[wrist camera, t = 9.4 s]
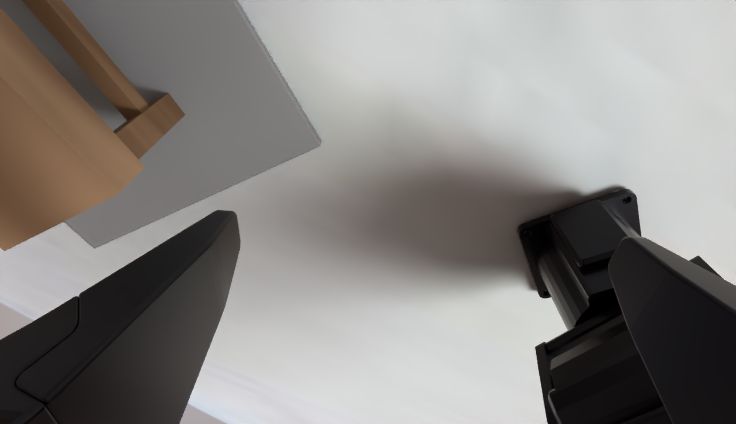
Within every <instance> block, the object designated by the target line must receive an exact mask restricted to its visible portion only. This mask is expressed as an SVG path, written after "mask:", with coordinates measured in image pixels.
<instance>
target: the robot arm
mask: <svg viewBox="0 0 736 424" xmlns="http://www.w3.org/2000/svg"><path fill="white" fill-rule="evenodd" d="M625 197H627V198H626V199H624V198H625ZM623 199H624V200H623ZM528 230H529V232H527V233H524V232H525V231H528ZM517 234H518V237H519V239H520V242H521V245H522V248H523V251H524V254H525V257H526V260H527V263H528V266H529V269H530V272H531V274H532V277H533V280H534V283H535V286H536V289H537V292H538V294H539V296H540V297H541V298H550V297H552V299H553V301H554V303H555V305H556V307H557V309H558V311H559V313H560V315H561V317H562V319H563V321H564V323H565V325H566V327H567V329H568V331H567V332H565V333H563V334H561V335H559V336H558V337H556V338H554V339H552V340H550V341H549V342H547V343H545V342H543V343H541V344H539V345H538V346H536V347H535V349H536V355H537V363H538V369H539V375H540V381H541V387H542V393H543V400H544V406H545V412H546V418H547V422H548V424H736V286H735V285H733V284H731V283H729V282H728V281H726V280H724V279H723V278H722V277H721V276H720V275H719V274H717V273H716V272H715V271H714V270H713V269H712V268H711V267H710V266H709V265H708V264H707V263H706V262H705V261H704V260H703V259H702V258H701V257H700V256H697V257H695V258H693V259H691V260H690V261H688V260H686V259H684V258H682V257H681V256H679V255H677V254H675V253H673V252H671V251H669V250H667V249H666V248H664V247H662V246H660V245H658V244H656V243H654V242H652V241H650V240H649V239H647V238H643V237H641V230H640V222H639V214H638V205H637V197H636V195H635V194H634V193H633V192H632V191H631V190H629V189H623V190H620V191H617V192H614V193H611V194H608V195H605V196H602V197H599V198H597V199H594V200H591V201H588V202H585V203H582V204H579V205H576V206H573V207H570V208H568V209H565V210H562V211H559V212H556V213H553V214H550V215H547V216H544V217H541V218H539V219H536V220H533V221H530V222H527V223H524V224H522V225H520V226H519V227H518V229H517ZM239 250H240V234H239V227H238V220H237V215H236V213H235V212H234V211H224V210H217V211H214V212H213V213H211V214H209V215H208V216H206V217H205V218H203V219H201V220H200V221H198V222H196V223H195V224H193V225H191V226H190V227H188V228H187V229H185V230H183V231H182V232H180V233H178V234H177V235H175V236H173V237H172V238H170V239H169V240H167V241H165V242H164V243H162V244H160V245H159V246H157V247H155V248H154V249H152V250H151V251H149V252H147V253H146V254H144V255H142V256H141V257H139V258H137V259H136V260H134V261H133V262H131V263H129V264H128V265H126V266H124V267H123V268H121V269H119V270H118V271H116V272H115V273H113V274H111V275H110V276H108V277H106V278H105V279H103V280H101V281H100V282H98V283H96V284H95V285H93V286H92V287H90V288H88V289H87V290H85V291H83V292H82V293H80V294H79V297H78V296H75V297H73V298H72V299H70V300H68V301H67V302H65V303H64V304H62V305H60V306H59V307H57V308H55V309H54V310H52V311H50V312H49V313H47V314H45V315H43V316H42V317H40V318H38V319H37V320H35V321H33V322H32V323H30V324H28V325H26V326H25V327H23V328H21V329H19V330H17V331H16V332H14V333H12V334H10V335H8V336H6V337H5V338H3V339H1V340H0V424H179V423H180V421H181V418H182V416H183V413H184V411H185V408H186V406H187V403H188V400H189V398H190V395H191V393H192V390H193V388H194V385H195V383H196V380H197V378H198V375H199V372H200V370H201V367H202V365H203V362H204V360H205V357H206V355H207V352H208V349H209V347H210V344H211V342H212V339H213V337H214V334H215V332H216V329H217V326H218V324H219V321H220V319H221V316H222V314H223V311H224V308H225V305H226V301H227V298H228V294H229V290H230V286H231V282H232V278H233V274H234V270H235V266H236V262H237V258H238V254H239Z"/></svg>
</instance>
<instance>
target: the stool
mask: <svg viewBox="0 0 736 424" xmlns="http://www.w3.org/2000/svg"><path fill="white" fill-rule="evenodd" d="M22 1H23V2H24V3H25V4H26V6H27V7H28V8H29V9H30V10H31V11H32V12H33V14H34V15H35V16H36V17H37V18H38V19H39V20H40V22H41V23H42V24H43V25H44V26H45V27H46V28H47V30H48V31H49V32H50V33H51V34H52V35H53V37H54V38H55V39H56V40H57V41H58V42H59V43H60V45H61V46H62V47H63V48H64V49H65V50H66V51H67V53H68V54H69V55H70V56H71V57H72V58H73V59H74V61H75V62H76V63H77V64H78V65H79V66H80V67H81V69H82V70H83V71H84V72H85V73H86V74H87V75H88V77H89V78H90V79H91V80H92V81H93V82H94V83H95V85H96V86H97V87H98V88H99V89H100V90H101V91H102V93H103V94H104V95H105V96H106V97H107V98H108V99H109V101H110V102H111V103H112V104H113V105H114V106H115V107H116V109H117V110H118V111H119V112H120V113H121V114H122V115H123V117H124V118H125V119H126V120H127V121H126V122H125V123H123V124H122V125H121V126H119V127H118V128H117V129H115V130H114V131H112V130H111V129H110V128H109V126H108V125H107V124H106V123H105V122H104V121H103V120H102V119H101V118H100V117H99V115H98V114H97V113H96V112H95V111H94V110H93V109H92V108H91V107H90V106H89V104H88V103H87V102H86V101H85V100H84V99H83V98H82V97H81V96H80V95H79V93H78V92H77V91H76V90H75V89H74V88H73V87H72V86H71V85H70V84H69V82H68V81H67V80H66V79H65V78H64V77H63V76H62V75H61V74H60V73H59V71H58V70H57V69H56V68H55V67H54V66H53V65H52V64H51V63H50V62H49V60H48V59H47V58H46V57H45V56H44V55H43V54H42V53H41V52H40V51H39V49H38V48H37V47H36V46H35V45H34V44H33V43H32V42H31V41H30V40H29V38H28V37H27V36H26V35H25V34H24V33H23V32H22V31H21V30H20V29H19V27H18V26H17V25H16V24H15V23H14V22H13V21H12V20H11V19H10V18H9V16H8V15H7V14H6V13H5V12H4V11H3V10H2V9H1V8H0V248H1V249H3V250H4V251H6V250H8V249H10V248H12V247H14V246H16V245H18V244H20V243H22V242H24V241H26V240H28V239H30V238H32V237H34V236H36V235H38V234H40V233H42V232H44V231H46V230H48V229H50V228H52V227H54V226H56V225H58V224H60V223H62V222H64V221H66V220H68V219H70V218H72V217H74V216H76V215H78V214H80V213H82V212H84V211H86V210H88V209H90V208H92V207H94V206H96V205H98V204H100V203H102V202H104V201H106V200H108V199H110V198H112V197H114V196H116V195H118V194H119V193H120V192H121V191H122V190H123V189H124V188H125V187H126V186H127V185H128V184H129V183H130V182H131V181H132V180H133V179H134V178H135V177H136V176H137V175H138V174H139V173H140V172H141V171H142V170H143V169H144V168H145V166H144V165H143V164H142V163H141V162H140V161H139V159H140V158H141V157H142V156H143V155H144V154H145V153H146V152H147V151H148V150H149V149H150V148H151V147H152V146H154V145H155V144H156V143H157V142H158V141H159V140H160V139H161V138H162V137H163V136H164V135H165V134H166V133H167V132H168V131H169V130H170V129H171V128H172V127H173V126H174V125H175V124H176V123H177V122H178V121H180V120H181V119H182V118H183V117H184V116H185V113H184V112H183V111H182V110H181V108H180V107H179V106H178V104H177V103H176V102H175V101H174V99H173V98H172V97H171V95H170V94H169V93H167V94H166V95H164V96H162V97H160V98H159V99H157V100H155V101H153V102H151V103H150V104H147V103H146V101H145V100H144V99H143V98H142V96H141V95H140V94H139V93H138V92H137V90H136V89H135V88H134V87H133V86H132V84H131V83H130V82H129V81H128V79H127V78H126V77H125V76H124V75H123V73H122V72H121V71H120V70H119V68H118V67H117V66H116V65H115V64H114V62H113V61H112V60H111V59H110V58H109V56H108V55H107V54H106V53H105V51H104V50H103V49H102V48H101V47H100V45H99V44H98V43H97V42H96V41H95V39H94V38H93V37H92V36H91V34H90V33H89V32H88V31H87V30H86V28H85V27H84V26H83V25H82V23H81V22H80V21H79V20H78V19H77V17H76V16H75V15H74V14H73V13H72V11H71V10H70V9H69V8H68V6H67V5H66V4H65V3H64V2H63V0H22Z"/></svg>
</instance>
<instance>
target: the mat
mask: <svg viewBox="0 0 736 424" xmlns="http://www.w3.org/2000/svg"><path fill="white" fill-rule="evenodd" d="M63 2H64V3H65V4H66V5H67V6H68V8H69V9H70V10H71V11H72V13H73V14H74V15H75V16H76V17H77V19H78V20H79V21H80V22H81V23H82V25H83V26H84V27H85V28H86V30H87V31H88V32H89V33H90V34H91V36H92V37H93V38H94V39H95V41H96V42H97V43H98V44H99V45H100V47H101V48H102V49H103V50H104V51H105V53H106V54H107V55H108V56H109V58H110V59H111V60H112V61H113V62H114V64H115V65H116V66H117V67H118V68H119V70H120V71H121V72H122V73H123V75H124V76H125V77H126V78H127V79H128V81H129V82H130V83H131V84H132V86H133V87H134V88H135V89H136V90H137V92H138V93H139V94H140V95H141V96H142V98H143V99H144V100H145V101H146V103H147V104H150V103H151V102H153V101H155V100H157V99H159V98H160V97H162V96H164V95H166V94H167V93H169V94H170V95H171V97H172V98H173V99H174V101H175V102H176V103H177V104H178V106H179V107H180V108H181V110H182V111H183V112H184V113H185V116H184V117H183V118H182V119H181V120H180V121H178V122H177V123H176V124H175V125H174V126H173V127H172V128H171V129H170V130H169V131H168V132H167V133H166V134H165V135H164V136H163V137H162V138H161V139H160V140H159V141H158V142H157V143H156V144H155V145H154V146H152V147H151V148H150V149H149V150H148V151H147V152H146V153H145V154H144V155H143V156H142V157H141V158H140V159H139V161H140V162H141V163H142V164H143V165H144V166H145V168H144V169H143V170H142V171H141V172H140V173H139V174H138V175H137V176H136V177H135V178H134V179H133V180H132V181H131V182H130V183H129V184H128V185H127V186H126V187H125V188H124V189H123V190H122V191H121V192H120V193H119V194H118V195H116V196H114V197H112V198H110V199H108V200H106V201H104V202H102V203H100V204H98V205H96V206H94V207H92V208H90V209H88V210H86V211H84V212H82V213H80V214H78V215H76V216H74V217H72V218H70V219H68V220H66V221H64V222H65V223H66V224H67V225H68V226H69V227H70V228H72V229H73V230H74V231H75V232H76V233H77V234H78V235H80V236H81V237H82V238H83V239H84V240H85V241H86V242H87V243H89V244H90V245H91V246H92V247H93V248H94V249H95V248H97V247H99V246H101V245H103V244H106V243H108V242H110V241H112V240H114V239H117V238H119V237H121V236H123V235H125V234H128V233H130V232H132V231H134V230H136V229H139V228H141V227H143V226H145V225H147V224H150V223H152V222H154V221H156V220H158V219H161V218H163V217H165V216H167V215H169V214H172V213H174V212H176V211H178V210H180V209H183V208H185V207H187V206H189V205H191V204H194V203H196V202H198V201H200V200H202V199H205V198H207V197H209V196H211V195H213V194H216V193H218V192H220V191H222V190H224V189H227V188H229V187H231V186H233V185H235V184H238V183H240V182H242V181H244V180H246V179H248V178H251V177H253V176H255V175H257V174H259V173H262V172H264V171H266V170H268V169H270V168H273V167H275V166H277V165H279V164H281V163H284V162H286V161H288V160H290V159H292V158H295V157H297V156H299V155H301V154H303V153H306V152H308V151H310V150H312V149H314V148H317V147H319V146H320V144H321V140H320V138H319V136H318V135H317V133H316V131H315V130H314V128H313V126H312V125H311V123H310V121H309V120H308V118H307V116H306V115H305V113H304V111H303V110H302V108H301V106H300V105H299V103H298V101H297V100H296V98H295V96H294V94H293V93H292V91H291V89H290V88H289V86H288V84H287V83H286V81H285V79H284V78H283V76H282V74H281V73H280V71H279V69H278V68H277V66H276V64H275V63H274V61H273V59H272V58H271V56H270V54H269V53H268V51H267V49H266V48H265V46H264V44H263V43H262V41H261V39H260V38H259V36H258V34H257V32H256V31H255V29H254V27H253V26H252V24H251V22H250V21H249V19H248V17H247V16H246V14H245V12H244V11H243V9H242V7H241V6H240V4H239V2H238V1H237V0H63ZM0 8H1V9H2V10H3V11H4V12H5V13H6V14H7V15H8V16H9V18H10V19H11V20H12V21H13V22H14V23H15V24H16V25H17V26H18V27H19V29H20V30H21V31H22V32H23V33H24V34H25V35H26V36H27V37H28V38H29V40H30V41H31V42H32V43H33V44H34V45H35V46H36V47H37V48H38V49H39V51H40V52H41V53H42V54H43V55H44V56H45V57H46V58H47V59H48V60H49V62H50V63H51V64H52V65H53V66H54V67H55V68H56V69H57V70H58V71H59V73H60V74H61V75H62V76H63V77H64V78H65V79H66V80H67V81H68V82H69V84H70V85H71V86H72V87H73V88H74V89H75V90H76V91H77V92H78V93H79V95H80V96H81V97H82V98H83V99H84V100H85V101H86V102H87V103H88V104H89V106H90V107H91V108H92V109H93V110H94V111H95V112H96V113H97V114H98V115H99V117H100V118H101V119H102V120H103V121H104V122H105V123H106V124H107V125H108V126H109V128H110V129H111V130H112V131H114V130H115V129H117V128H118V127H119V126H121V125H122V124H123V123H125V122H126V121H127V120H126V119H125V118H124V117H123V115H122V114H121V113H120V112H119V111H118V110H117V109H116V107H115V106H114V105H113V104H112V103H111V102H110V101H109V99H108V98H107V97H106V96H105V95H104V94H103V93H102V91H101V90H100V89H99V88H98V87H97V86H96V85H95V83H94V82H93V81H92V80H91V79H90V78H89V77H88V75H87V74H86V73H85V72H84V71H83V70H82V69H81V67H80V66H79V65H78V64H77V63H76V62H75V61H74V59H73V58H72V57H71V56H70V55H69V54H68V53H67V51H66V50H65V49H64V48H63V47H62V46H61V45H60V43H59V42H58V41H57V40H56V39H55V38H54V37H53V35H52V34H51V33H50V32H49V31H48V30H47V28H46V27H45V26H44V25H43V24H42V23H41V22H40V20H39V19H38V18H37V17H36V16H35V15H34V14H33V12H32V11H31V10H30V9H29V8H28V7H27V6H26V4H25V3H24V2H23V1H22V0H0Z"/></svg>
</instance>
